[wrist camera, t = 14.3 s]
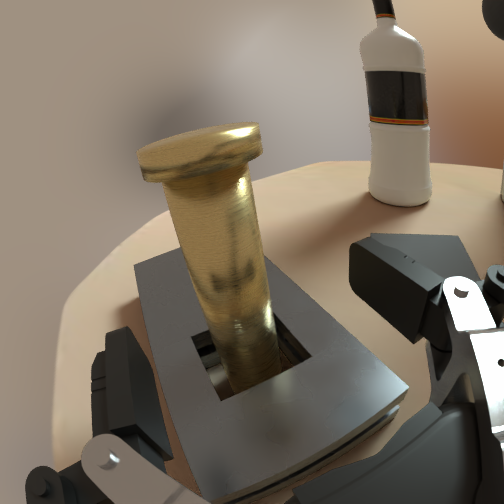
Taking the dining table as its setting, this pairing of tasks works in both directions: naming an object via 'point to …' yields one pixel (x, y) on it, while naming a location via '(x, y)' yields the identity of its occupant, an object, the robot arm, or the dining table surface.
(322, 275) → the dining table surface
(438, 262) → the rubber mat
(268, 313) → the brass pin
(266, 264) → the slotted grey base plate
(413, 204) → the vodka
